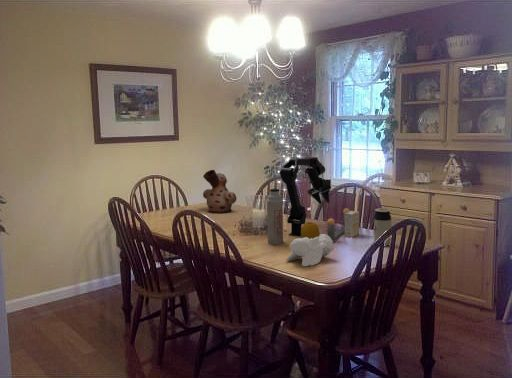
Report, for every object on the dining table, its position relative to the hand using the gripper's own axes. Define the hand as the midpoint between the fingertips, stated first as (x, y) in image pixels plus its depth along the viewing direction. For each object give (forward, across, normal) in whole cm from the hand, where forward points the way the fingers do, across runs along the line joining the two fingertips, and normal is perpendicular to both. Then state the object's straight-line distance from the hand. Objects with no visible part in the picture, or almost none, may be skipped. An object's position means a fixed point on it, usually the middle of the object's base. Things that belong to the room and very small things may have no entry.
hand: (324, 203), depth 280 cm
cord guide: (+17, -13, +6) cm, 22 cm away
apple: (+12, -24, +29) cm, 40 cm away
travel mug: (+26, -40, 0) cm, 48 cm away
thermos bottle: (+6, -13, +42) cm, 44 cm away
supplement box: (+20, -18, +1) cm, 27 cm away
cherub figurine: (+14, -49, +43) cm, 67 cm away
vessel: (-15, +79, +39) cm, 89 cm away
